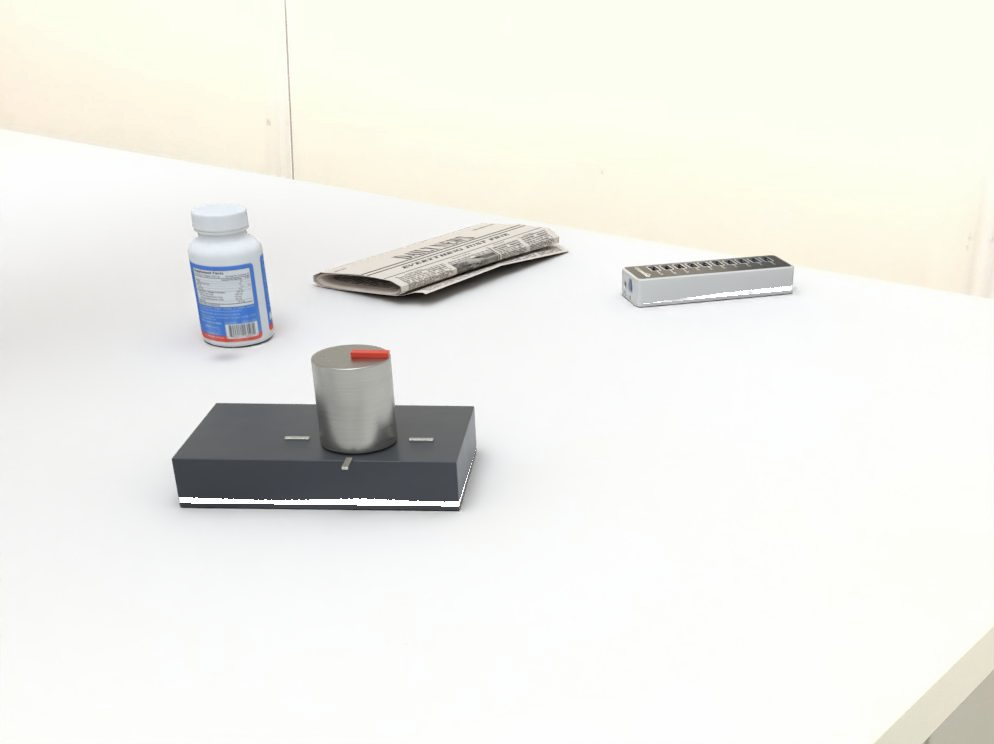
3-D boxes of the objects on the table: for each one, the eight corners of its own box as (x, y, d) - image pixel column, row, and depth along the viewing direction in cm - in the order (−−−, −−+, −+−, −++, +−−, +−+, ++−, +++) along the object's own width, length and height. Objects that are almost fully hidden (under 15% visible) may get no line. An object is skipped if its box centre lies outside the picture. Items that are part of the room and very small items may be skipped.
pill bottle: (229, 324, 106) (210, 198, 101) (287, 331, 105) (271, 203, 100) (187, 343, 102) (165, 213, 97) (247, 351, 100) (229, 219, 95)
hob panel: (172, 517, 75) (163, 464, 73) (222, 447, 84) (215, 400, 82) (456, 520, 75) (453, 468, 73) (476, 450, 84) (474, 403, 82)
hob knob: (313, 453, 75) (302, 363, 73) (329, 425, 79) (319, 338, 76) (390, 454, 75) (382, 364, 73) (403, 426, 79) (396, 339, 76)
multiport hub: (794, 293, 116) (796, 266, 115) (637, 307, 111) (637, 279, 110) (773, 280, 119) (774, 254, 118) (620, 293, 115) (620, 266, 114)
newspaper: (420, 309, 110) (415, 278, 109) (317, 300, 117) (311, 271, 116) (580, 251, 127) (578, 224, 125) (482, 246, 133) (479, 220, 132)
